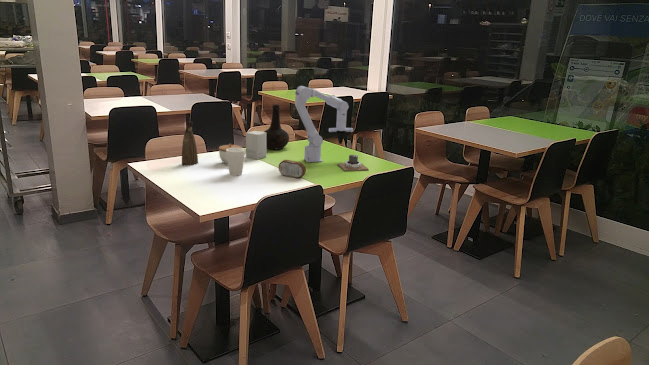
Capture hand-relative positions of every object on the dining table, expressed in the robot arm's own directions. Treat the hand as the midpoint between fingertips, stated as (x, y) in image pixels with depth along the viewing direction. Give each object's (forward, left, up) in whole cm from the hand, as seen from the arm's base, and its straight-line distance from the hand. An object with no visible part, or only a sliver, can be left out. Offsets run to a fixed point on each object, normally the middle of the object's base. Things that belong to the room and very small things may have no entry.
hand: (340, 143), depth 288 cm
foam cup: (-64, -26, -10) cm, 70 cm away
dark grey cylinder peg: (+2, -20, -9) cm, 22 cm away
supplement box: (-49, +9, -10) cm, 51 cm away
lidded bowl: (-65, -3, -10) cm, 66 cm away
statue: (-87, -3, -10) cm, 88 cm away
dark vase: (-34, +32, -10) cm, 48 cm away
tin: (-36, -34, -10) cm, 50 cm away
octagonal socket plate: (+2, -20, -9) cm, 22 cm away
